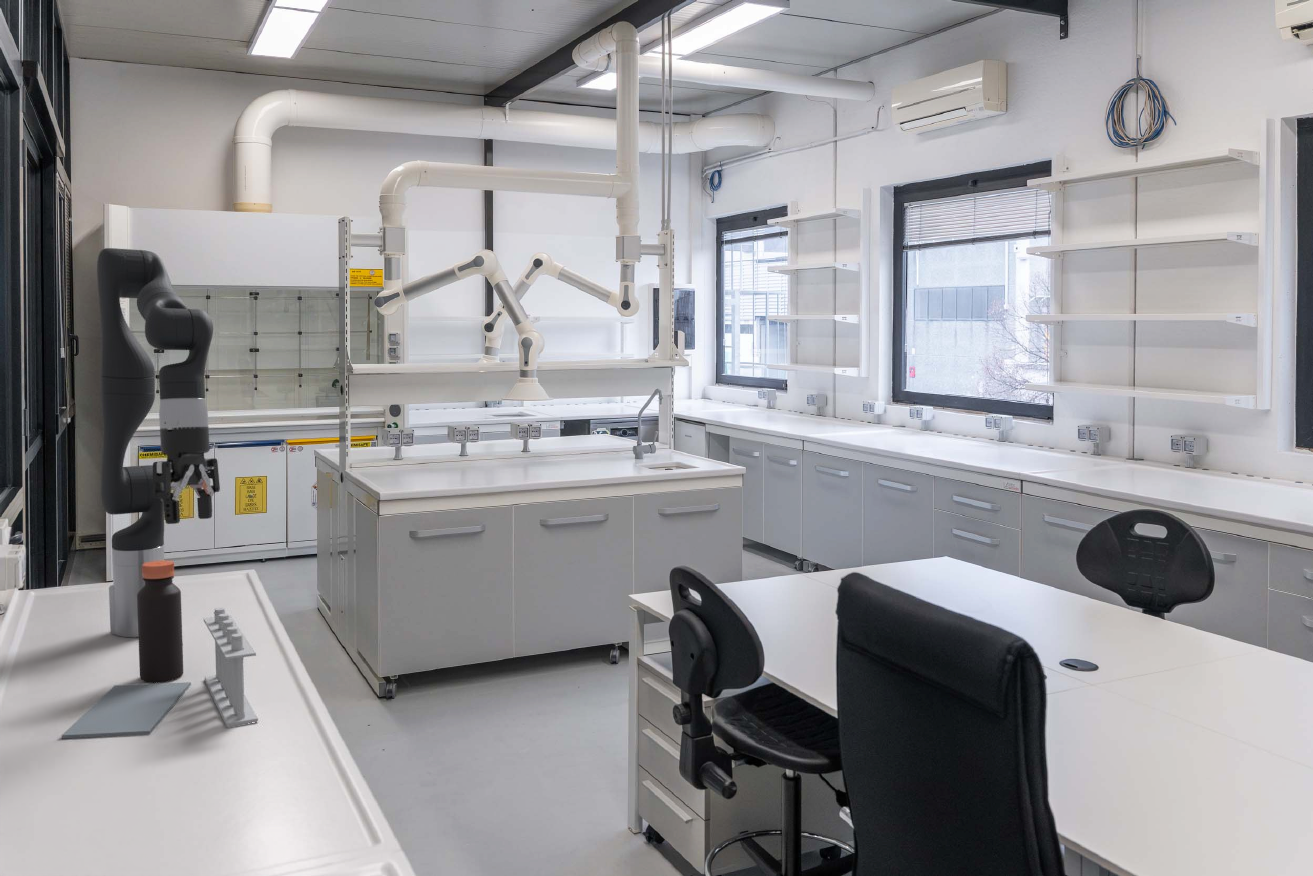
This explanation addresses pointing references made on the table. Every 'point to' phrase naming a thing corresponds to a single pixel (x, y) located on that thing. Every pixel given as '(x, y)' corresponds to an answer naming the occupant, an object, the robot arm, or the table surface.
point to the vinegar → (159, 624)
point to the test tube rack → (229, 670)
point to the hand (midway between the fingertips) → (189, 521)
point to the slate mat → (128, 710)
